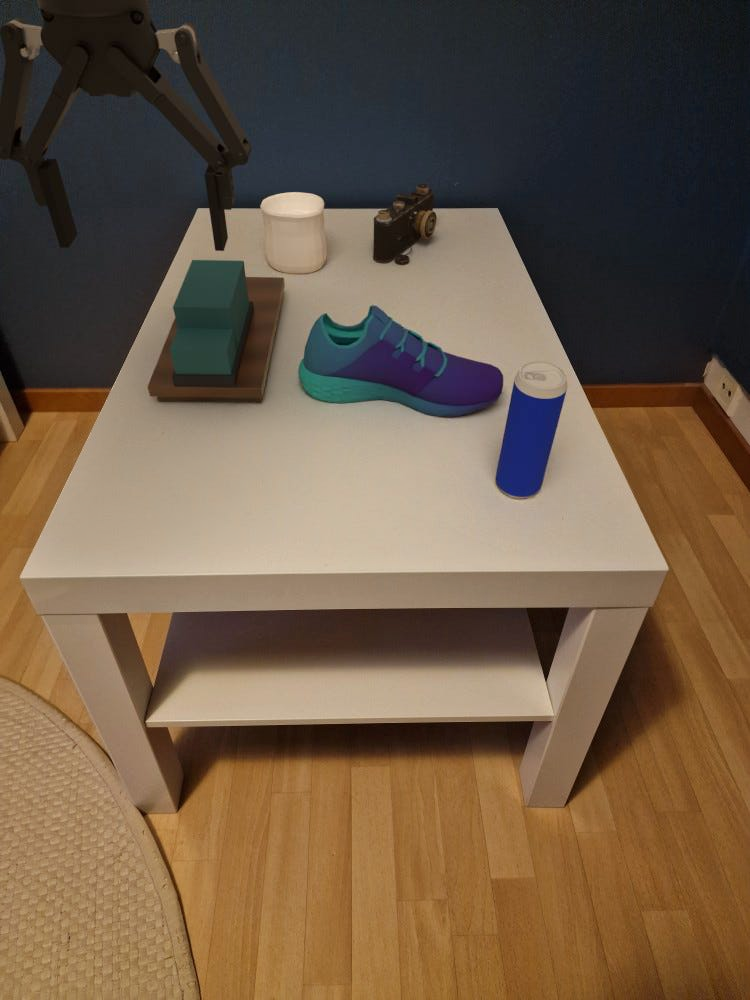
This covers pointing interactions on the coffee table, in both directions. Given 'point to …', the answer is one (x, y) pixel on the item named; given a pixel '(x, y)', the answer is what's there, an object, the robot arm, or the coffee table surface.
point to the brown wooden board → (254, 358)
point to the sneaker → (393, 368)
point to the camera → (403, 225)
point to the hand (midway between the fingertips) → (145, 243)
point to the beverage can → (530, 428)
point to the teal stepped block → (211, 324)
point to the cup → (294, 232)
